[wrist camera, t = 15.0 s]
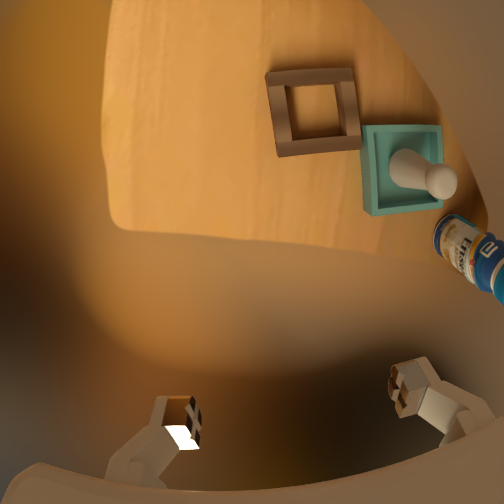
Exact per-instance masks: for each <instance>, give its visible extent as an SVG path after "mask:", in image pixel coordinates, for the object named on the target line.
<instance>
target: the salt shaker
mask: <svg viewBox="0 0 504 504" xmlns="http://www.w3.org/2000/svg"><path fill="white" fill-rule="evenodd" d="M388 173H389V175H390V177H391V179H392V181H393V182H395V183H396V184H397V185H398V186H400V187H405V188H414V189H422V190H428V192H429V193H430V194H431V195H432V196H433V197H435V198H438V199H444V200H446V199H448V198H450V197H451V196H452V195H453V194H454V193H455V191H456V188H457V175H456V173H455V171H454V170H453V169H452V168H451V167H450V166H449V165H446V164H442V163H437V164H435V165H434V164H432V163H431V162H429V161H428V160H427V159H425V158H424V157H422V156H421V155H419V154H418V153H416V152H415V151H413V150H411V149H406V148H403V149H401V150H398V151H396V152H395V153H394V154H393V155H392V156H391V157H390V158H389V164H388Z"/></svg>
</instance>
